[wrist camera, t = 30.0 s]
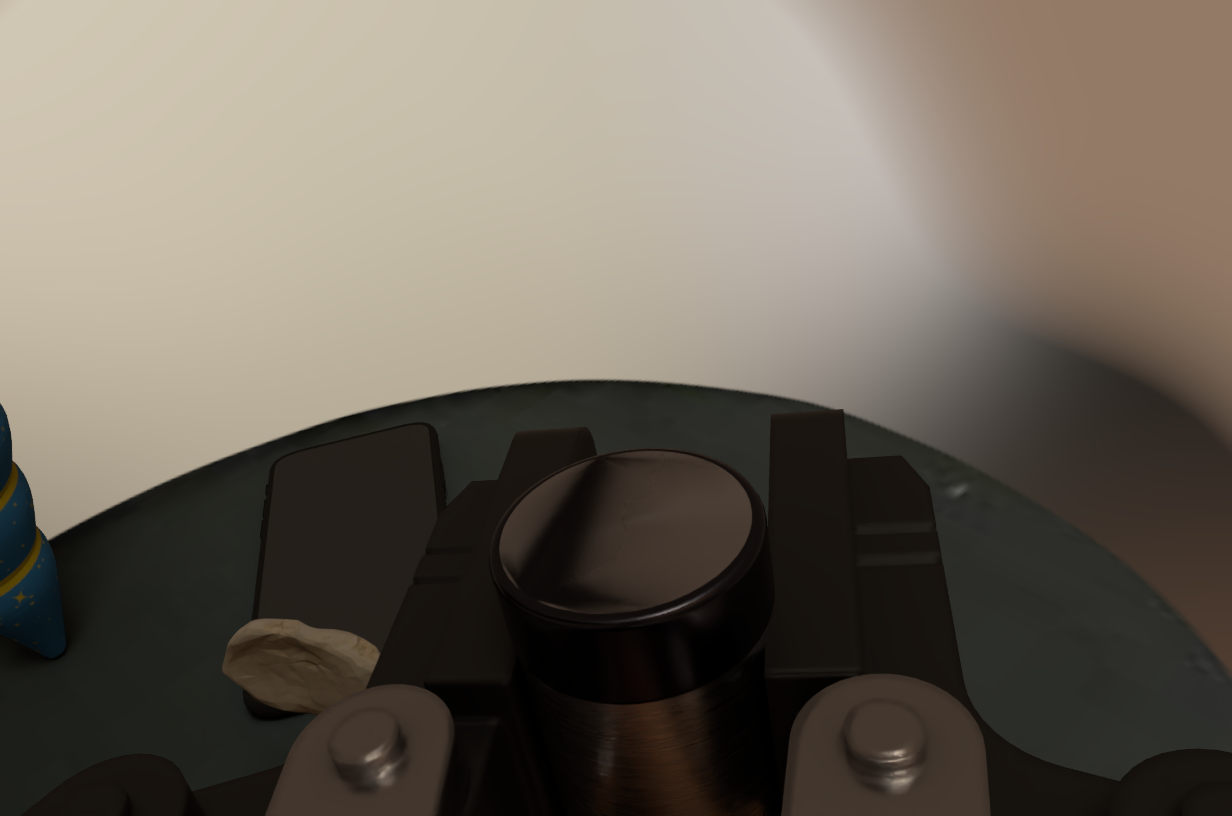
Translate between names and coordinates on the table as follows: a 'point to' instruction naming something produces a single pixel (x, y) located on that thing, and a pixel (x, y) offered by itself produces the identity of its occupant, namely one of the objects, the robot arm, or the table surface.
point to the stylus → (645, 632)
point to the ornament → (26, 564)
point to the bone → (298, 664)
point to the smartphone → (347, 532)
